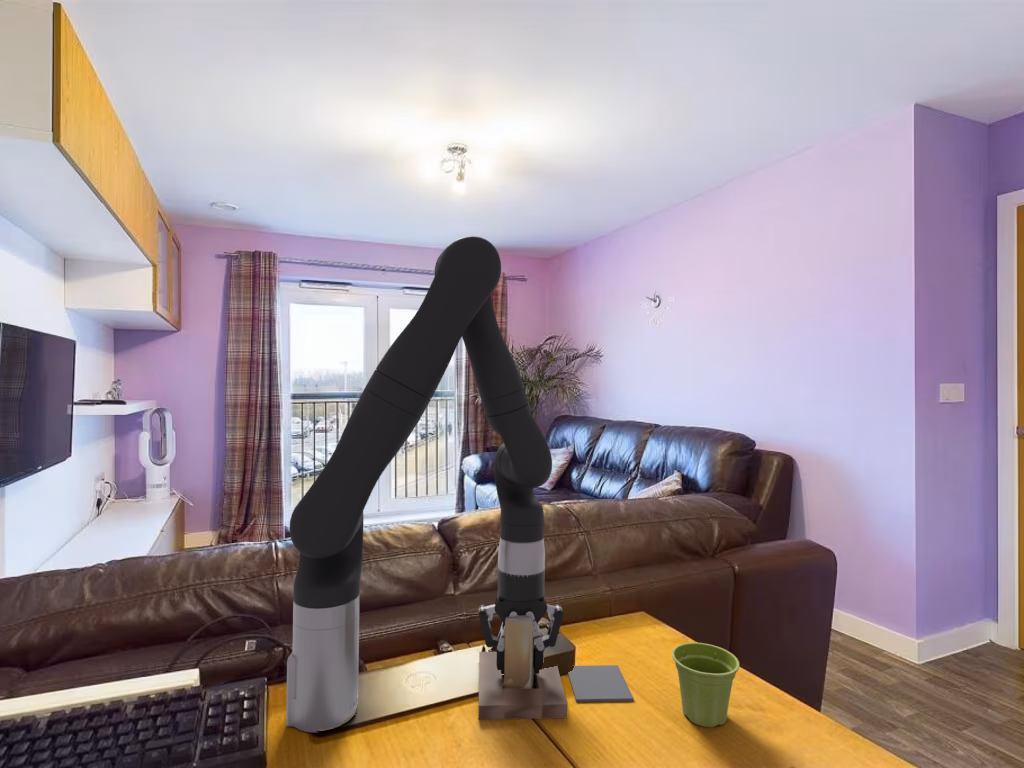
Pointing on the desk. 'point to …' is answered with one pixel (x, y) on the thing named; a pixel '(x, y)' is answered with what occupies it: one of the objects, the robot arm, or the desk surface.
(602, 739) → the desk surface
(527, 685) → the skincare box
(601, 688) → the mat
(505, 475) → the robot arm
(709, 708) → the plant pot
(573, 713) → the desk surface
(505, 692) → the puzzle board
